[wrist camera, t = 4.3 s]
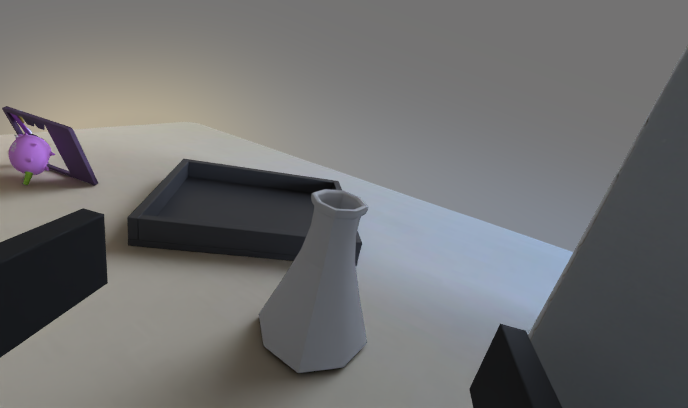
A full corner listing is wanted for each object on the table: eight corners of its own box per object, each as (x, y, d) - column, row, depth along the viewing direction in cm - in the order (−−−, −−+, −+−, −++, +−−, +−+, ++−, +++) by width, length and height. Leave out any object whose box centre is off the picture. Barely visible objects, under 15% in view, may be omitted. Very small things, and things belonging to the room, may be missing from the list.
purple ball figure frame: (79, 124, 34) (13, 103, 36) (23, 149, 30) (-47, 124, 32) (104, 180, 38) (44, 158, 40) (59, 208, 34) (-6, 182, 36)
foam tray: (335, 198, 48) (338, 181, 47) (356, 266, 33) (362, 242, 32) (182, 178, 44) (183, 158, 43) (127, 245, 29) (126, 217, 28)
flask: (291, 395, 19) (323, 237, 16) (240, 312, 24) (256, 178, 21) (384, 350, 24) (426, 219, 20) (325, 289, 29) (350, 175, 25)
